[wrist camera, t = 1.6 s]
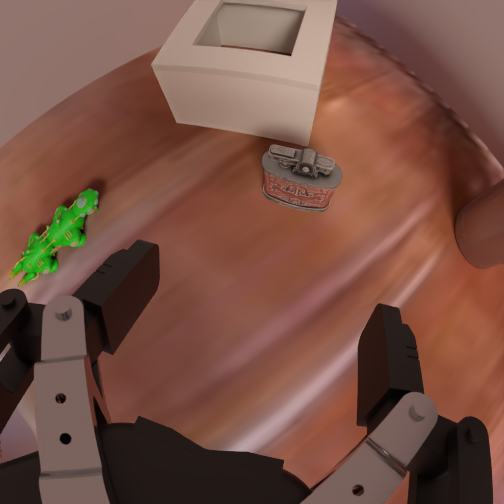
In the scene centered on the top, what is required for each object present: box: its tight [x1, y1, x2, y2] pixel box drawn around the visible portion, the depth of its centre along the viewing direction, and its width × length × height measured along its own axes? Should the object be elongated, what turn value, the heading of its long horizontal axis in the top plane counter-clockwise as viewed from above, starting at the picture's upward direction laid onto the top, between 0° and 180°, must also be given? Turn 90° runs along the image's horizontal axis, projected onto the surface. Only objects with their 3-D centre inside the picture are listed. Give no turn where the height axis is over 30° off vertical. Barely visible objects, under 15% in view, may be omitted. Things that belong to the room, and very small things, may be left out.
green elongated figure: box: [10, 189, 99, 286], centre depth 36 cm, size 7×18×4 cm, turn 129°
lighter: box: [262, 144, 342, 212], centre depth 33 cm, size 8×3×10 cm, turn 75°
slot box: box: [151, 0, 337, 147], centre depth 36 cm, size 18×18×12 cm
